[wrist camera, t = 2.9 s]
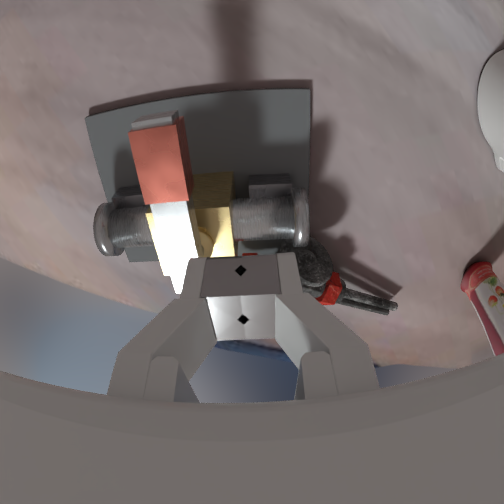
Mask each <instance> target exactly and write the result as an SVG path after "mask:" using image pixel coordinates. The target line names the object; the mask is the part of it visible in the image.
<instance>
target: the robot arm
mask: <svg viewBox="0 0 504 504" xmlns="http://www.w3.org/2000/svg"><path fill="white" fill-rule="evenodd" d="M477 106H478V116H479V121H480V125H481V129H482V132H483V134H484V136H485V138H486V140H487V142H488V143H489V145H490V146H491V148H492V150H493V152H494V157H495V162H496V166H497V168H498V169H499V170H501V171H502V172H504V49H503V50H501V51H499V52H497V53H496V54H494V55H493V56H492V57H491V58H490V59H489V61H488V62H487V64H486V65H485V67H484V69H483V72H482V75H481V78H480V82H479V87H478V98H477ZM271 338H275V340H276V341H277V342H278V344H279V345H280V346H281V347H282V349H283V350H284V351H285V352H286V354H287V355H288V356H289V358H290V359H291V360H292V361H293V363H294V364H295V365H296V366H297V368H298V369H299V374H298V380H297V387H296V393H295V398H294V400H292V401H278V402H261V403H200V402H199V400H198V398H197V397H196V395H195V393H194V391H193V389H192V387H191V385H190V383H189V380H190V379H191V378H192V376H193V375H194V373H195V372H196V371H197V369H198V368H199V366H200V365H201V364H202V362H203V361H204V359H205V358H206V357H207V355H208V354H209V353H210V351H211V350H212V348H213V347H214V346H215V344H216V343H217V341H221V340H240V339H271ZM0 504H504V353H502V354H500V355H497V356H494V357H492V358H489V359H486V360H484V361H481V362H478V363H475V364H472V365H469V366H466V367H463V368H460V369H456V370H453V371H450V372H447V373H443V374H440V375H436V376H432V377H428V378H424V379H421V380H417V381H412V382H408V383H404V384H400V385H395V386H391V387H385V388H380V387H379V383H378V380H377V376H376V372H375V368H374V365H373V361H372V358H371V354H370V351H369V347H368V344H367V343H366V342H364V341H363V340H362V339H361V338H360V337H359V336H357V335H356V334H355V333H354V332H353V331H352V330H351V329H349V328H348V327H347V326H346V325H345V324H344V323H343V322H341V321H340V320H339V319H338V318H337V317H336V316H334V315H333V314H332V313H331V312H330V311H329V310H328V309H326V308H325V307H324V306H323V305H322V304H321V303H319V302H318V301H317V300H316V299H315V298H314V297H313V296H311V295H310V294H309V293H303V291H302V286H301V281H300V276H299V271H298V266H297V261H296V256H295V253H294V252H288V253H276V254H267V255H251V256H223V257H200V258H190V259H189V260H188V263H187V267H186V271H185V276H184V280H183V285H182V290H181V294H180V299H174V300H173V301H172V302H171V303H170V304H169V305H168V306H167V307H165V308H164V309H163V310H162V311H161V312H160V313H159V314H158V315H157V316H156V317H155V318H154V319H153V320H152V321H151V322H150V323H149V324H148V325H146V326H145V327H144V328H143V329H142V330H141V331H140V332H139V333H138V334H137V335H136V336H135V337H134V338H133V339H132V340H131V341H130V342H129V343H128V344H127V345H126V346H124V347H123V348H122V349H121V350H120V351H119V352H118V355H117V359H116V362H115V366H114V369H113V373H112V377H111V380H110V385H109V388H108V392H107V395H104V394H97V393H91V392H85V391H80V390H74V389H70V388H64V387H60V386H55V385H51V384H47V383H42V382H38V381H34V380H30V379H27V378H23V377H19V376H16V375H13V374H9V373H6V372H3V371H0Z"/></svg>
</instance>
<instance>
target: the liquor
mask: <svg viewBox="0 0 504 504" xmlns="http://www.w3.org/2000/svg"><path fill="white" fill-rule="evenodd" d="M461 290H462V291H463V292H465V293H467V295H468V297H469V299H470V301H471V303H472V304H473V306H474V308H475V310H476V312H477V314H478V317H479V319H480V321H481V323H482V325H483V327H484V330H485V332H486V335H487V337H488V340H489V342H490V345H491V347H492V350H493V352H494V355H495V356H497V355H500V354H502V353H504V286H503V285H502V283H501V282H500V280H499V279H498V278H497V276H496V275H495V273H494V272H493V271H492V265H491V263H490V262H476V263H474V264H472V265H471V266H470V267H469V268H468V269H467V270H466V272H465V273H464V276H463V279H462V282H461Z"/></svg>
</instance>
